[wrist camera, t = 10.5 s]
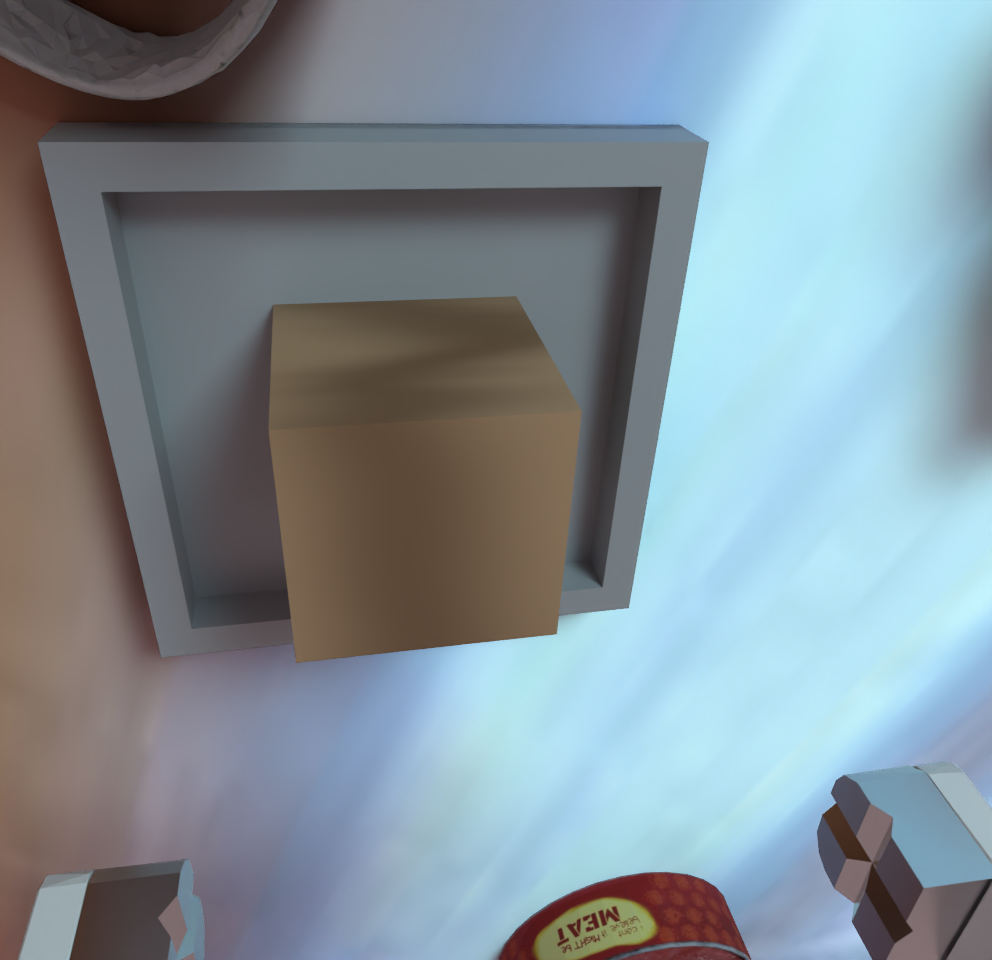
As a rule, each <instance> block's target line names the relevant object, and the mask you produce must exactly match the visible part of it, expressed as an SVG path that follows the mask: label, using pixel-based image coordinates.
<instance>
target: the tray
mask: <svg viewBox="0 0 992 960" xmlns="http://www.w3.org/2000/svg"><path fill="white" fill-rule="evenodd" d="M708 144H709V142H707V141H706V140H704V139H702V138H701V137H699V136H697V135H695V134H694V133H692V132H690V131H689V130H687V129H685V128H683V127H682V126H680V125H570V124H335V123H101V122H58V123H57V124H56V125H55V126H54V127H53V128H51V129H50V130H49V131H48V132H47V133H46V134H45V135H44V136H43V137H42V138H41V139H40V140H39V141H38V146H39V150H40V154H41V159H42V163H43V167H44V171H45V175H46V179H47V184H48V188H49V192H50V196H51V200H52V204H53V209H54V213H55V217H56V221H57V225H58V229H59V234H60V238H61V242H62V246H63V250H64V254H65V259H66V263H67V267H68V271H69V275H70V279H71V284H72V288H73V292H74V296H75V300H76V304H77V309H78V313H79V317H80V321H81V325H82V329H83V334H84V338H85V342H86V346H87V350H88V354H89V359H90V363H91V367H92V371H93V375H94V379H95V384H96V388H97V392H98V396H99V400H100V404H101V408H102V413H103V417H104V421H105V425H106V429H107V433H108V438H109V442H110V446H111V450H112V454H113V458H114V463H115V467H116V471H117V475H118V479H119V483H120V488H121V492H122V496H123V500H124V504H125V508H126V513H127V517H128V521H129V525H130V529H131V533H132V538H133V542H134V546H135V550H136V554H137V558H138V563H139V567H140V571H141V575H142V579H143V583H144V588H145V592H146V596H147V600H148V604H149V608H150V613H151V617H152V621H153V625H154V629H155V633H156V638H157V642H158V646H159V650H160V654H161V658H162V657H172V656H181V655H191V654H200V653H210V652H219V651H228V650H238V649H247V648H257V647H266V646H276V645H285V644H294V640H293V631H292V623H291V615H290V606H289V598H288V590H287V581H286V573H285V564H284V556H283V548H282V539H281V531H280V522H279V514H278V506H277V497H276V489H275V481H274V472H273V464H272V455H271V447H270V439H269V404H270V377H271V351H272V324H273V305H275V304H304V303H334V302H363V301H393V300H422V299H452V298H481V297H510V296H516V297H517V298H518V300H519V302H520V304H521V305H522V307H523V309H524V311H525V312H526V314H527V316H528V318H529V319H530V321H531V323H532V325H533V326H534V328H535V330H536V332H537V333H538V335H539V337H540V339H541V340H542V342H543V344H544V346H545V347H546V349H547V351H548V353H549V355H550V356H551V358H552V360H553V362H554V363H555V365H556V367H557V369H558V370H559V372H560V374H561V376H562V377H563V379H564V381H565V383H566V384H567V386H568V388H569V390H570V391H571V393H572V395H573V397H574V398H575V400H576V402H577V404H578V405H579V407H580V409H581V411H582V414H581V423H580V431H579V440H578V449H577V458H576V467H575V476H574V485H573V493H572V502H571V511H570V520H569V529H568V538H567V547H566V555H565V564H564V573H563V582H562V591H561V600H560V609H559V615H568V614H577V613H587V612H596V611H606V610H615V609H624V608H629V603H630V597H631V591H632V585H633V579H634V574H635V568H636V562H637V556H638V550H639V545H640V539H641V533H642V527H643V521H644V516H645V510H646V504H647V498H648V492H649V487H650V481H651V475H652V469H653V463H654V458H655V452H656V446H657V440H658V434H659V428H660V423H661V417H662V411H663V405H664V399H665V394H666V388H667V382H668V376H669V370H670V365H671V359H672V353H673V347H674V341H675V336H676V330H677V324H678V318H679V312H680V307H681V301H682V295H683V289H684V283H685V278H686V272H687V266H688V260H689V254H690V249H691V243H692V237H693V231H694V225H695V219H696V214H697V208H698V202H699V196H700V190H701V185H702V179H703V173H704V167H705V161H706V156H707V150H708Z"/></svg>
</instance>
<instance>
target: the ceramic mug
mask: <svg viewBox="0 0 992 960" xmlns="http://www.w3.org/2000/svg"><path fill="white" fill-rule="evenodd" d="M277 1H278V0H233V1H232V2H231V3H230V4H229V5H228V6H227V7H226V9H225V10H224V11H223V12H222V13H221V14H220V15H219V16H217V17H216V18H214V19H213V20H211V21H210V22H208V23H206V24H205V25H203V26H201V27H200V28H198V29H197V30H195V31H191V32H189V33H185V34H182V35H179V36H157V35H155V34H152V33H150V32H146V33H133V32H131V31H129V30H127V29H125V28H123V27H120V26H117V25H114V24H112V23H110V22H108V21H106V20H104V19H102V18H100V17H99V16H97V15H95V14H93V13H91V12H89V11H87V10H85V9H83V8H81V7H79V6H77V5H75V4H73V3H71V2H69V1H67V0H0V55H1V56H2V57H4V58H6V59H8V60H10V61H12V62H13V63H15V64H17V65H19V66H21V67H23V68H25V69H28V70H30V71H32V72H34V73H36V74H39V75H41V76H43V77H45V78H48V79H50V80H52V81H54V82H57V83H59V84H62V85H65V86H68V87H71V88H74V89H77V90H80V91H82V92H86V93H90V94H94V95H98V96H102V97H106V98H113V99H122V100H148V99H154V98H159V97H164V96H168V95H172V94H175V93H177V92H179V91H182V90H184V89H187V88H189V87H192V86H195V85H197V84H200V83H202V82H203V81H205V80H206V79H208V78H209V77H211V76H212V75H214V74H216V73H218V72H221V71H223V70H224V69H225V68H226V67H227V66H228V65H229V64H230V63H231V62H232V61H233V60H234V59H235V58H236V57H237V56H238V55H239V54H240V53H241V52H242V51H243V50H244V49H245V48H246V47H247V45H248V44H249V43H250V42H251V41H252V40H253V38H254V37H255V36H256V35H257V34H258V33H259V31H260V30H261V29H262V27H263V25H264V23H265V22H266V20H267V18H268V16H269V15H270V13H271V11H272V9H273V8H274V6H275V4H276V2H277Z"/></svg>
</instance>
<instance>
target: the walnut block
mask: <svg viewBox="0 0 992 960" xmlns="http://www.w3.org/2000/svg"><path fill="white" fill-rule="evenodd" d="M581 414H582V411H581V409H580V407H579V405H578V404H577V402H576V400H575V398H574V397H573V395H572V393H571V391H570V390H569V388H568V386H567V384H566V383H565V381H564V379H563V377H562V376H561V374H560V372H559V370H558V369H557V367H556V365H555V363H554V362H553V360H552V358H551V356H550V355H549V353H548V351H547V349H546V347H545V346H544V344H543V342H542V340H541V339H540V337H539V335H538V333H537V332H536V330H535V328H534V326H533V325H532V323H531V321H530V319H529V318H528V316H527V314H526V312H525V311H524V309H523V307H522V305H521V304H520V302H519V300H518V298H517V297H516V296H510V297H481V298H452V299H422V300H393V301H363V302H334V303H304V304H275V305H273V324H272V351H271V377H270V404H269V439H270V447H271V455H272V464H273V472H274V481H275V489H276V497H277V506H278V514H279V522H280V531H281V539H282V548H283V556H284V564H285V573H286V581H287V590H288V598H289V606H290V615H291V623H292V631H293V640H294V648H295V657H296V663H299V662H308V661H317V660H326V659H335V658H344V657H353V656H362V655H371V654H380V653H390V652H399V651H408V650H417V649H426V648H435V647H444V646H453V645H462V644H471V643H480V642H489V641H499V640H508V639H517V638H526V637H535V636H544V635H553V634H557V626H558V617H559V609H560V600H561V591H562V582H563V573H564V564H565V555H566V547H567V538H568V529H569V520H570V511H571V502H572V493H573V485H574V476H575V467H576V458H577V449H578V440H579V431H580V423H581Z"/></svg>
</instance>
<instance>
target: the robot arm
mask: <svg viewBox="0 0 992 960" xmlns="http://www.w3.org/2000/svg"><path fill="white" fill-rule="evenodd" d="M831 794H832V796H833V798H834V799H835V801H836V804H835V805H834V806H832V807H831V808H830V809H829V810H828V811H826V812H825V813H824V814H823V815H822V818H821V821H820V824H819V827H818V830H817V837H818V848H819V854H820V857H821V860H822V863H823V866H824V869H825V871H826V873H827V875H828V877H829V879H830V881H831V883H832V885H833V887H834V889H836V890H837V891H838V892H840V893H841V894H842V895H844V896H845V897H847V898H848V899H849V900H851V901H852V902H853V903H854V908H853V916H852V923H853V925H854V926H855V928H856V930H857V932H858V934H859V936H860V938H861V939H862V941H863V943H864V945H865V947H866V949H867V950H868V952H869V954H870V956H871V958H872V960H992V808H991V807H990V806H989V804H988V803H987V802H986V800H985V799H984V798H983V796H982V795H981V794H980V793H979V791H978V790H977V789H976V787H975V786H974V785H973V783H972V782H971V781H970V779H969V778H968V777H967V776H966V774H965V773H964V772H963V771H962V770H961V769H960V768H959V767H958V766H956V765H955V764H953V763H952V762H938V763H931V764H924V765H918V766H902V767H896V768H889V769H882V770H875V771H868V772H861V773H854V774H848V775H843V776H842V777H840V778H839V779H837V780H836V782H835V784H834V786H833V789H832V791H831ZM193 880H194V874H193V871H192V867H191V864H190V861H189V859H183V860H174V861H166V862H157V863H149V864H140V865H131V866H123V867H114V868H106V869H92V870H84V871H76V872H69V873H61V874H53V875H47V876H46V878H45V880H44V881H43V883H42V885H41V886H40V888H39V890H38V891H37V894H36V898H35V901H34V904H33V908H32V911H31V915H30V918H29V921H28V925H27V928H26V932H25V935H24V938H23V942H22V945H21V949H20V952H19V956H18V959H17V960H204V935H205V928H204V918H203V910H202V905H201V901H200V898H199V897H197V896H195V895H193V894H192V888H193Z"/></svg>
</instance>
